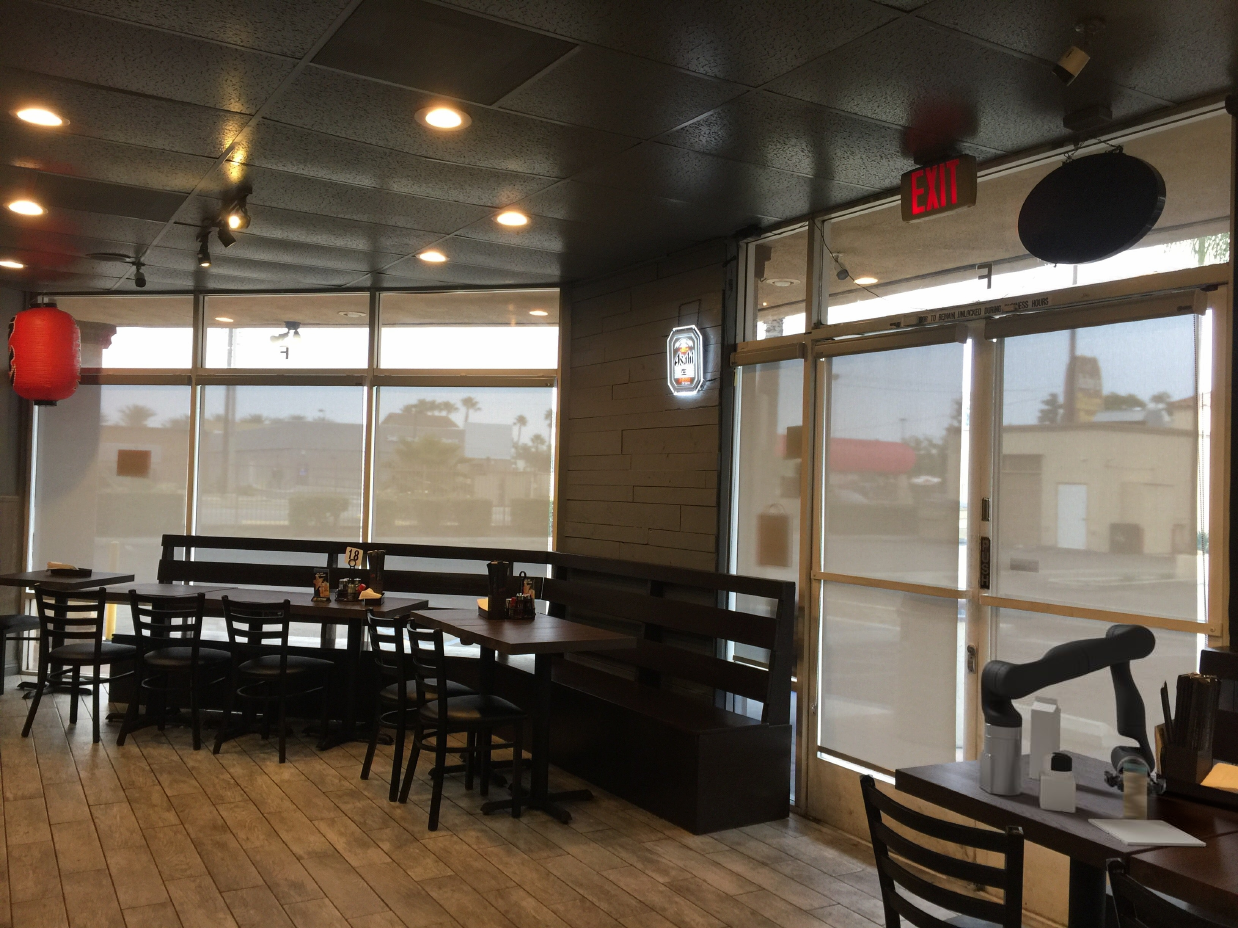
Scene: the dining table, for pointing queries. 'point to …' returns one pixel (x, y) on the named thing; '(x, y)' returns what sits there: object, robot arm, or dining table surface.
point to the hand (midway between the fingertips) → (1135, 789)
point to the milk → (1043, 732)
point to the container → (1057, 783)
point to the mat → (1146, 832)
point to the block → (1135, 791)
